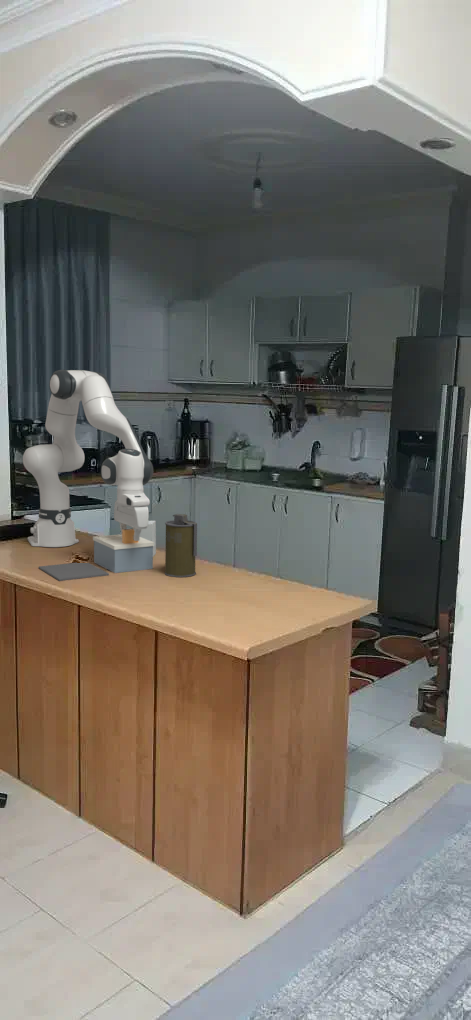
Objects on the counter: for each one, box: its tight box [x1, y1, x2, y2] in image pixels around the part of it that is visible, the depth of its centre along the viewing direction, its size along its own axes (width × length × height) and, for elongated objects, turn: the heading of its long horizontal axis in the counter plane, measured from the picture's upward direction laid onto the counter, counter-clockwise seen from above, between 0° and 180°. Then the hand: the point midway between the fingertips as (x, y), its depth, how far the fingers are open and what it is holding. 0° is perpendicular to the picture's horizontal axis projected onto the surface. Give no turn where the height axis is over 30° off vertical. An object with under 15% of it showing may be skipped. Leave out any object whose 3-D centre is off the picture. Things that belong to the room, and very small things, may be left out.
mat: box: [38, 562, 110, 582], centre depth 264 cm, size 20×17×1 cm
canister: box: [164, 513, 198, 578], centre depth 263 cm, size 11×10×20 cm
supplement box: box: [132, 520, 157, 557], centre depth 291 cm, size 7×7×13 cm
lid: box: [92, 528, 154, 550], centre depth 273 cm, size 19×15×7 cm
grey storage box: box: [93, 540, 154, 574], centre depth 274 cm, size 18×14×8 cm
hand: (130, 538), depth 268 cm, fingers open, 8 cm apart
